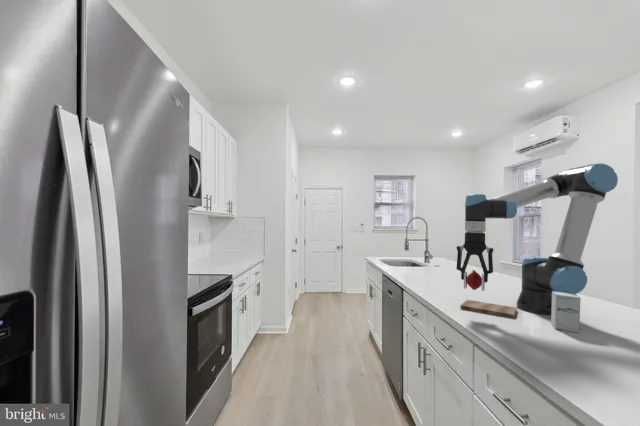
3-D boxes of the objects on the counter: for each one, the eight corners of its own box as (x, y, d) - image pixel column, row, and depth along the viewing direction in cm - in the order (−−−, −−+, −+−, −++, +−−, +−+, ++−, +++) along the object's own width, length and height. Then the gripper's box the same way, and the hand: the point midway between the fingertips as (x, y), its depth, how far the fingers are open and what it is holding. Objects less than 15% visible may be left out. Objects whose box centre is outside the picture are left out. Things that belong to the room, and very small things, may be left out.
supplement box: (554, 329, 115) (555, 294, 116) (550, 323, 122) (551, 290, 122) (580, 333, 112) (580, 297, 112) (575, 327, 118) (575, 293, 119)
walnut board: (516, 311, 138) (516, 307, 138) (514, 318, 127) (514, 314, 127) (466, 302, 150) (466, 299, 150) (460, 308, 138) (460, 305, 138)
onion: (478, 288, 132) (479, 269, 132) (484, 291, 126) (484, 271, 127) (464, 288, 133) (464, 268, 133) (469, 291, 127) (469, 270, 127)
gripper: (448, 231, 132) (447, 287, 132) (500, 233, 122) (499, 294, 121) (452, 231, 139) (451, 284, 138) (502, 233, 128) (501, 291, 127)
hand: (474, 289), depth 130 cm, fingers closed on onion, 6 cm apart
